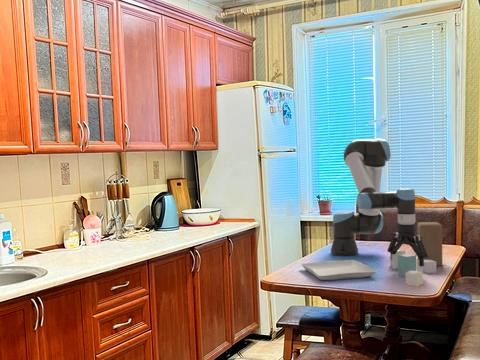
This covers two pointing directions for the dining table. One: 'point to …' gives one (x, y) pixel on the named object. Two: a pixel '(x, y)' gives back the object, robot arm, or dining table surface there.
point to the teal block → (406, 264)
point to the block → (431, 240)
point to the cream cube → (414, 278)
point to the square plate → (339, 269)
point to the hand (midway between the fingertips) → (407, 270)
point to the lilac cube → (429, 266)
